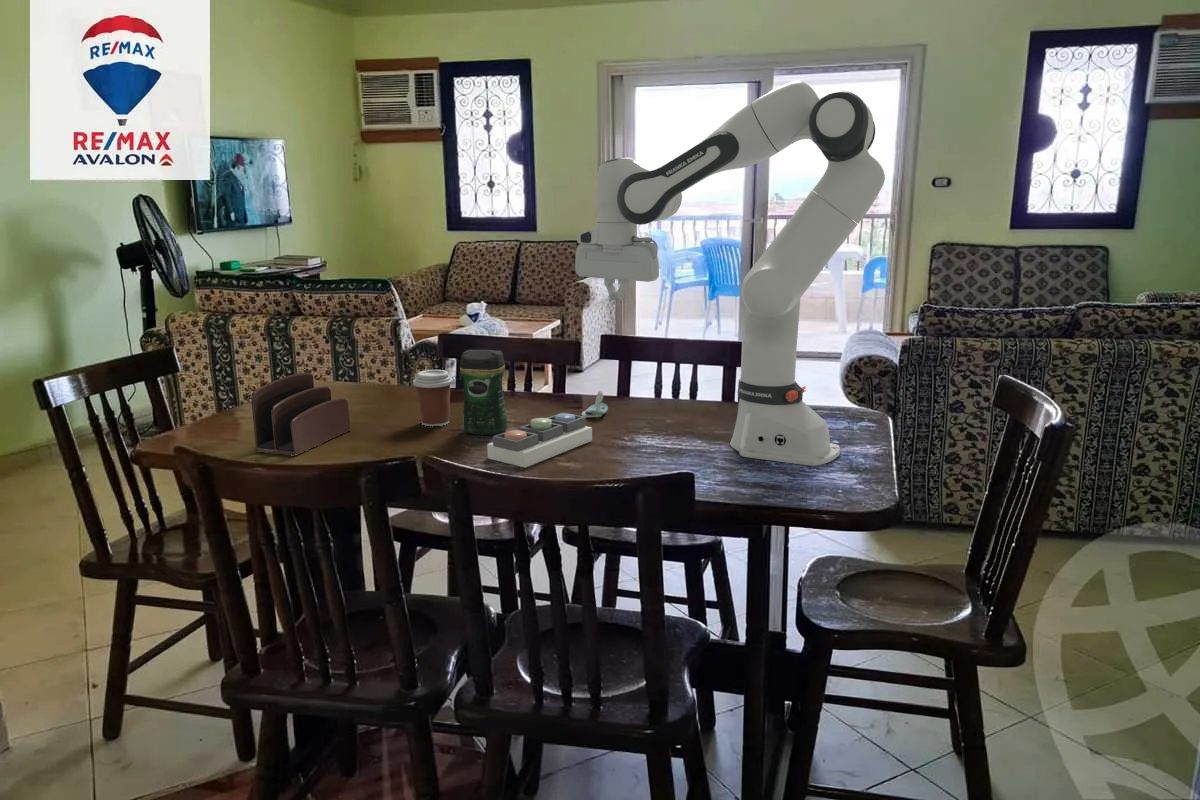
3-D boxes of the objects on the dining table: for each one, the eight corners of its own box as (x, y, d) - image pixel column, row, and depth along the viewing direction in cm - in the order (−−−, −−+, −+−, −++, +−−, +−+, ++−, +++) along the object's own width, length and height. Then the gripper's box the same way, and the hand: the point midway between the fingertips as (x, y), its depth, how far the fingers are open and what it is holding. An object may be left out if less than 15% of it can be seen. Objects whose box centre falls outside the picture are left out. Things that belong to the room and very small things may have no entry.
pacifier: (578, 419, 199) (603, 420, 198) (577, 394, 198) (602, 394, 196) (585, 411, 206) (609, 412, 205) (584, 386, 205) (608, 387, 203)
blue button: (579, 422, 182) (579, 415, 181) (566, 427, 178) (566, 420, 178) (563, 419, 184) (563, 412, 184) (550, 424, 181) (550, 416, 180)
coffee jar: (511, 427, 192) (508, 347, 187) (500, 437, 184) (497, 354, 180) (470, 425, 194) (467, 345, 189) (458, 434, 186) (454, 352, 182)
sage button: (556, 427, 175) (555, 420, 175) (542, 432, 172) (542, 424, 171) (539, 424, 178) (539, 416, 177) (526, 428, 174) (526, 421, 174)
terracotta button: (531, 440, 169) (530, 432, 169) (516, 445, 166) (516, 438, 165) (514, 436, 172) (514, 429, 171) (500, 441, 168) (499, 434, 168)
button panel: (592, 440, 182) (592, 418, 180) (524, 467, 164) (523, 443, 163) (556, 432, 187) (556, 411, 186) (487, 458, 170) (486, 434, 169)
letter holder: (255, 453, 174) (248, 387, 171) (314, 427, 193) (309, 367, 189) (295, 457, 171) (289, 390, 168) (352, 431, 190) (347, 370, 186)
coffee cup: (412, 428, 191) (408, 377, 188) (419, 418, 200) (416, 368, 197) (452, 428, 191) (449, 377, 188) (457, 417, 200) (455, 368, 197)
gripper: (665, 236, 178) (664, 301, 181) (588, 233, 190) (588, 294, 193) (649, 238, 173) (648, 305, 176) (570, 235, 185) (571, 297, 188)
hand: (616, 299), depth 185 cm, fingers closed
